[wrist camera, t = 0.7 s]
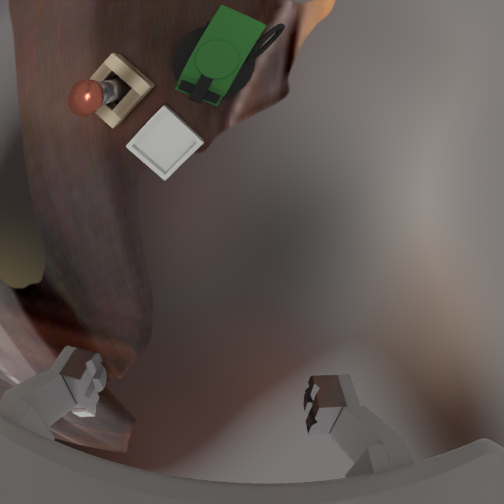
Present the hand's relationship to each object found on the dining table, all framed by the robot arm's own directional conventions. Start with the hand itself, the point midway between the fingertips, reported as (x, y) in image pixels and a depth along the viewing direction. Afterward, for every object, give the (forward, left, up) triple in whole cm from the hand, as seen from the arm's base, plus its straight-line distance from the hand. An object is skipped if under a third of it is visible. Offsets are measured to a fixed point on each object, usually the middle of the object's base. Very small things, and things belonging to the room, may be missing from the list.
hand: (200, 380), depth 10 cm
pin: (-15, -4, -46) cm, 48 cm away
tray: (-2, -5, -46) cm, 46 cm away
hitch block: (-15, -4, -46) cm, 48 cm away
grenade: (-7, +11, -46) cm, 48 cm away
